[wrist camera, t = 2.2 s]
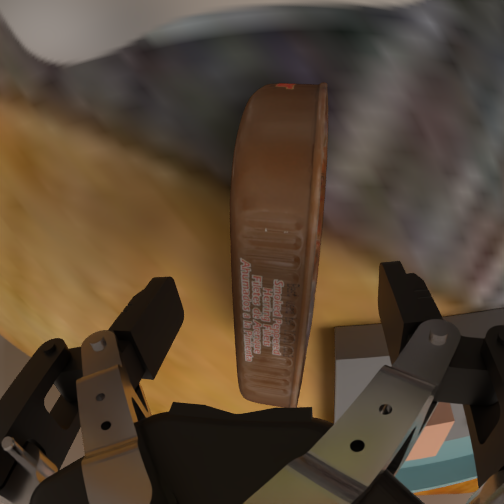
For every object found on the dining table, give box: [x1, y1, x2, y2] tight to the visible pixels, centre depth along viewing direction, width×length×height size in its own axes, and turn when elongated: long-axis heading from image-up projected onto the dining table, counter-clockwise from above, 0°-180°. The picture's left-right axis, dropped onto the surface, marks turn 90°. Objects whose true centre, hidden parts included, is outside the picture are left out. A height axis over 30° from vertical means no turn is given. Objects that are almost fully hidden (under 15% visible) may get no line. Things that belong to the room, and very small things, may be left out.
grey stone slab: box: [334, 308, 504, 441], centre depth 19 cm, size 20×12×3 cm, turn 99°
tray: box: [395, 436, 477, 493], centre depth 23 cm, size 19×10×4 cm, turn 99°
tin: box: [230, 83, 328, 408], centre depth 14 cm, size 15×3×8 cm, turn 0°
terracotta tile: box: [405, 402, 455, 461], centre depth 18 cm, size 5×5×2 cm
